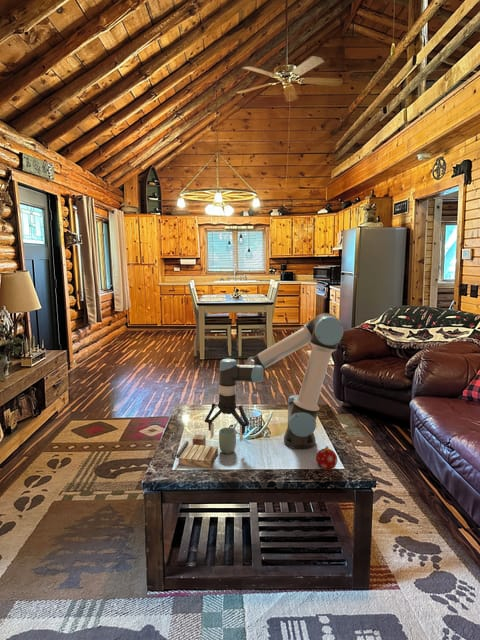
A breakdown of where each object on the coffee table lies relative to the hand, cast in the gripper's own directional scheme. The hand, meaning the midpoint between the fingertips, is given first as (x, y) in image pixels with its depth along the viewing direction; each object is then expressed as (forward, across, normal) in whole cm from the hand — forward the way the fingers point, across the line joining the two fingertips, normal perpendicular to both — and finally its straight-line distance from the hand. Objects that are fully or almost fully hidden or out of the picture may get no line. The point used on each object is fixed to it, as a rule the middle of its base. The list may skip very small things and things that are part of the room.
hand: (226, 438), depth 187 cm
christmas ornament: (+6, -45, +8) cm, 46 cm away
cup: (+6, -1, 0) cm, 6 cm away
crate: (+7, +14, -3) cm, 15 cm away
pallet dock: (+7, +10, +9) cm, 15 cm away
